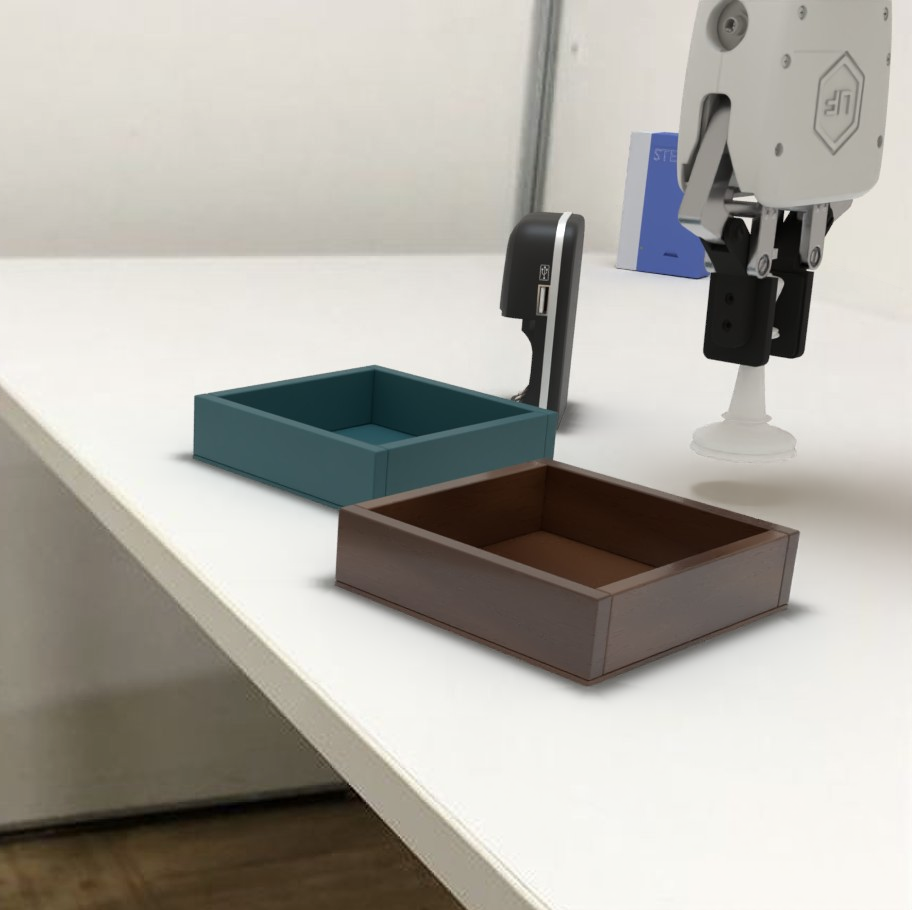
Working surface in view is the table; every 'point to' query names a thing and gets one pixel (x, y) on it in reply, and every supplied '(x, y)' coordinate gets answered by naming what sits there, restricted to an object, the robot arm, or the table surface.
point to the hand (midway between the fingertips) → (753, 354)
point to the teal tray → (365, 433)
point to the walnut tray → (566, 565)
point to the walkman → (656, 211)
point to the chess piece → (746, 421)
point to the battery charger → (545, 300)
